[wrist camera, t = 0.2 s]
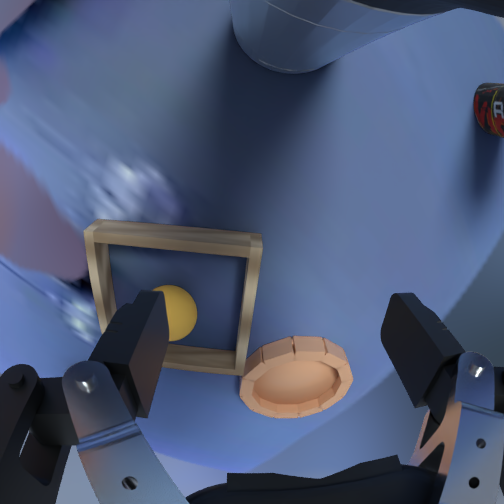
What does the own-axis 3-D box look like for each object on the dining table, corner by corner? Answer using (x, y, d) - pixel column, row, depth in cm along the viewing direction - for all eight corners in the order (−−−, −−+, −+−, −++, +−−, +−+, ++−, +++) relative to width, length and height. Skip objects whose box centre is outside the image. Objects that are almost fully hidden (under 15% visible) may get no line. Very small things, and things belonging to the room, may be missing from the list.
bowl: (246, 333, 33) (246, 348, 30) (361, 337, 34) (367, 351, 31) (236, 402, 39) (236, 416, 37) (329, 403, 40) (332, 416, 38)
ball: (147, 271, 29) (131, 303, 24) (201, 277, 29) (193, 311, 24) (151, 314, 31) (138, 348, 26) (199, 320, 32) (193, 356, 27)
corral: (97, 219, 26) (83, 230, 24) (261, 233, 27) (262, 247, 25) (115, 340, 33) (108, 357, 31) (243, 357, 34) (243, 375, 32)
